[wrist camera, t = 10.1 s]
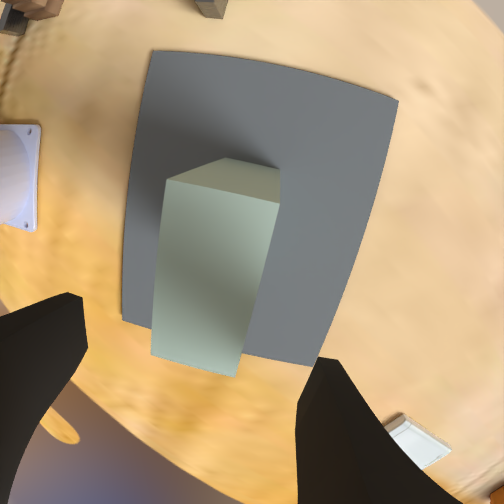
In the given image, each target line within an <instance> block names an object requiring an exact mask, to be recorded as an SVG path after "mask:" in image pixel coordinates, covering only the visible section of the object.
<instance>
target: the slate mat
mask: <svg viewBox="0 0 504 504" xmlns="http://www.w3.org/2000/svg"><path fill="white" fill-rule="evenodd" d="M398 103H399V101H398V100H396V99H393V98H390V97H388V96H385V95H382V94H380V93H377V92H374V91H371V90H368V89H365V88H362V87H359V86H356V85H353V84H350V83H347V82H343V81H340V80H336V79H333V78H329V77H326V76H322V75H318V74H315V73H311V72H307V71H303V70H298V69H294V68H290V67H285V66H280V65H275V64H270V63H265V62H259V61H254V60H248V59H241V58H234V57H227V56H219V55H210V54H200V53H189V52H173V51H153V54H152V57H151V61H150V66H149V70H148V74H147V78H146V83H145V87H144V92H143V97H142V102H141V107H140V112H139V117H138V123H137V129H136V135H135V141H134V148H133V154H132V162H131V169H130V177H129V186H128V195H127V206H126V217H125V231H124V248H123V274H122V320H123V321H126V322H129V323H133V324H136V325H139V326H142V327H145V328H149V329H152V313H153V297H154V284H155V272H156V261H157V250H158V241H159V232H160V224H161V216H162V208H163V201H164V193H165V187H166V180H167V179H168V178H171V177H174V176H176V175H179V174H181V173H184V172H187V171H189V170H192V169H195V168H197V167H200V166H203V165H206V164H208V163H211V162H214V161H217V160H220V159H223V158H230V159H235V160H240V161H244V162H249V163H254V164H258V165H262V166H267V167H271V168H275V169H280V206H279V210H278V214H277V218H276V222H275V226H274V230H273V234H272V238H271V242H270V246H269V249H268V253H267V257H266V261H265V265H264V269H263V273H262V277H261V281H260V285H259V289H258V292H257V296H256V300H255V304H254V308H253V312H252V315H251V319H250V323H249V327H248V331H247V334H246V338H245V342H244V346H243V349H242V353H244V354H248V355H253V356H258V357H262V358H267V359H272V360H277V361H283V362H288V363H293V364H299V365H304V366H310V367H313V365H314V363H315V361H316V359H317V356H318V354H319V352H320V349H321V347H322V345H323V342H324V340H325V338H326V335H327V333H328V330H329V328H330V326H331V323H332V321H333V318H334V316H335V313H336V311H337V308H338V305H339V303H340V300H341V298H342V295H343V292H344V290H345V287H346V284H347V282H348V279H349V276H350V273H351V271H352V268H353V265H354V262H355V259H356V256H357V253H358V250H359V247H360V244H361V241H362V238H363V235H364V232H365V229H366V226H367V223H368V220H369V216H370V213H371V210H372V206H373V203H374V200H375V196H376V193H377V189H378V186H379V182H380V178H381V175H382V171H383V167H384V163H385V160H386V156H387V152H388V148H389V144H390V139H391V135H392V131H393V126H394V122H395V117H396V113H397V108H398Z"/></svg>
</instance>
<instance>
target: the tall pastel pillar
mask: <svg viewBox="0 0 504 504" xmlns="http://www.w3.org/2000/svg"><path fill="white" fill-rule="evenodd" d="M279 206H280V169H275V168H271V167H267V166H262V165H258V164H254V163H249V162H244V161H240V160H235V159H230V158H223V159H220V160H217V161H214V162H211V163H208V164H206V165H203V166H200V167H197V168H195V169H192V170H189V171H187V172H184V173H181V174H179V175H176V176H174V177H171V178H168V179H167V180H166V187H165V193H164V201H163V208H162V216H161V224H160V232H159V241H158V250H157V261H156V272H155V284H154V297H153V313H152V334H151V355H153V356H156V357H160V358H163V359H166V360H170V361H173V362H176V363H180V364H183V365H187V366H191V367H194V368H198V369H202V370H206V371H210V372H214V373H218V374H222V375H226V376H230V377H235V376H236V372H237V368H238V364H239V361H240V357H241V353H242V349H243V346H244V342H245V338H246V334H247V331H248V327H249V323H250V319H251V315H252V312H253V308H254V304H255V300H256V296H257V292H258V289H259V285H260V281H261V277H262V273H263V269H264V265H265V261H266V257H267V253H268V249H269V246H270V242H271V238H272V234H273V230H274V226H275V222H276V218H277V214H278V210H279Z"/></svg>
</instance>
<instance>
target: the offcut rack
mask: <svg viewBox="0 0 504 504" xmlns="http://www.w3.org/2000/svg"><path fill="white" fill-rule="evenodd" d="M227 2H228V0H195V3H196V4H197V6H198V7H199V8H200V10H201V11H202V13H203V14H204V16H205V17H206V18H217V19H223V16H224V13H225V9H226V6H227ZM12 7H13V5H12V4H9V3H6V5H5V8H4V10H3V13H2V16H1V19H0V33H3V34H8V35H13V36H20V35H23V34H24V33H25V30H26V27H27V23H28V20H29V18H27V17H23V16H24V14H25V12H22V11H19V10H16V9H12Z"/></svg>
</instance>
